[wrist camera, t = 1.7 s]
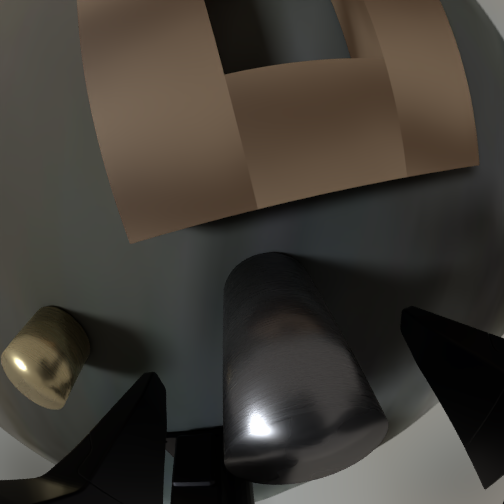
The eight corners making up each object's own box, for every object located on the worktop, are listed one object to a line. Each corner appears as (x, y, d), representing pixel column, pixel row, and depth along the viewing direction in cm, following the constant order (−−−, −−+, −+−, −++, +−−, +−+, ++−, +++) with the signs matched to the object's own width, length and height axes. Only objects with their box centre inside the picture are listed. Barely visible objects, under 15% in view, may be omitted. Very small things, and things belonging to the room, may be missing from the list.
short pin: (102, 359, 14) (79, 411, 10) (56, 363, 14) (32, 407, 10) (68, 300, 12) (31, 347, 8) (24, 311, 12) (-11, 351, 8)
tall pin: (316, 317, 13) (379, 458, 6) (236, 337, 13) (247, 491, 6) (304, 242, 12) (398, 382, 4) (212, 265, 12) (197, 433, 5)
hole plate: (444, 158, 11) (479, 165, 9) (149, 223, 11) (130, 244, 9) (366, -68, 6) (384, -88, 3) (97, -36, 6) (78, -58, 4)
